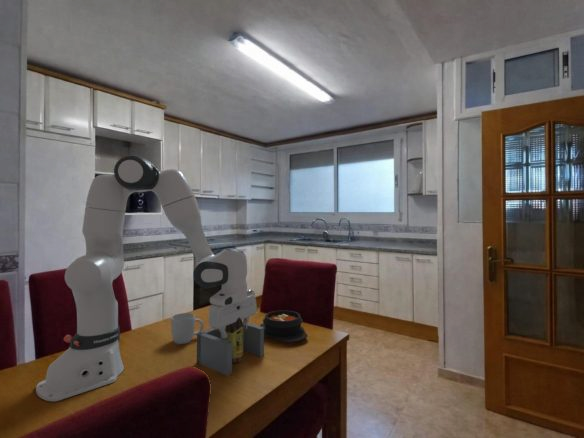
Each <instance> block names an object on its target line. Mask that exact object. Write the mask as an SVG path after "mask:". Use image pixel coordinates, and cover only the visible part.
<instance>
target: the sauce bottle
mask: <svg viewBox="0 0 584 438" xmlns="http://www.w3.org/2000/svg"><path fill="white" fill-rule="evenodd" d="M237 309H238V310H239V309H240V306H237ZM242 321H243V319H242V320H241V319H240V317H239V318H238V319H237V321H236V322H234V323H232V324H229V325H227V326H226V332H227V333H228V337H227V338H225V340H227V341H229V342H232V364H235V363H236V364H237V363H240V362H241V361H243V358H244V357H243V356H244V351H243V323H242Z"/></svg>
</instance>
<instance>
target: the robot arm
mask: <svg viewBox="0 0 584 438" xmlns="http://www.w3.org/2000/svg"><path fill="white" fill-rule="evenodd" d="M149 192H152V193H154V194H155V195H156V197H157V198H158V201H159V202H160V203H159V204H160V205H161V208H162V210H163V212H164V215H165V217H166V218H167V220H168V221H169V222H170V224H171V226H172V227H174V228H176V230H178V231H179V232H181V233H182V234H183V235H184V237H185V239H186V240H187V242H188V244H189V246H190V249H191V251H192V254H193V255H194V258H195V259H194V260H195V266H194V270H193V272H192V273H193V280H194V281H195V283H196V284H197V285H198V287H202V288H203V289H204V288H205V289H210V288H215V287H218V286H221V289H220V290H219V291H218V292H216V293H215V294H213V295H212V296H210V297H209V303H210V304H211V305H210V306H209V309H208V325H209V327H210V329H211V328H214V329H219V331H220V332H221V338H222V339H225V338H227V337H228V333H227V332H225V330H224V329H226V326H227V325H229V324H232V323H234V322H236V321H237V319H238V318H239V317H240V319H241V320H242V321H243V330H246V329H247V324H248V323H249V321H250V317H252V316H254V315H256V314H257V311H258V306H257V298H256V292H255V291H254V290H253V289H248V283H247V275H248V258H247V255H246V253H245V252H244V251H243V250H241V249H238V248H232V247H231V248H230V247H226V248H224V249H223V250H222V251H220V252H218V253H214V252H213V250H212V248H211V246H210V244H209V241H208V238H207V237H206V235H205V232H204V230H203V224H202V216H201V211H200V207H199V203H198V201H197V198H196V196H195V194H194V191H193V189H192V187H191V185H190V183H189V181H188V179H187V178H186V177H185V175H184V174H183V173H182V171H180V170H178V169H175V168H174V169H173V168H172V169H165V170H159V169H158V168H157V167H156V165H155V164H154V163H152V162H151V161H150V160H148V159H146V158H144V157H142V156H140V155H135V154H133V155H132V154H131V155H125V156H123V157H121V158H120V159H118V160H117V162H116V163H115V165H114V168H113V174H109V173H104V174H99V175H97V176H95V177H94V178H93V179H92V182H91V184H90V187H89V190H88V192H87V197H86V202H85V209H84V215H83V224H82V229H81V230H82V231H81V232H82V236H83V237H84V240H85V248H86V249H85V255H82V256H79V257H78V258H76V259H74V261H72V262H71V263H70V265H69V266H68V267H67V268H66V269H65V273H64V281H65V284H66V285H67V287H68V288H69V289H71V292H72V295H73V298H74V302H75V308H76V333H75V334H74V335H73V336H72V335H70V334H66V335H65V336H64V337H63V341H64V342H66V343H67V344H69V347H68V348H67V349H66V350H65V351H64V352H63V353H62V354H60V355H59V356H58V357H57V358H56V359H55V360H53V362H51V363H50V364H49V366H48V368H47V370H46V375H45V379H43V380H42V381H40V382H38V383H37V384H36V387H35V393H36V395H37V396H38V397H39V398H40V399H42V400H44V401H47V402H58V401H62V400H64V399H68V398H70V397H74V396H76V395H77V396H78V395H80V394H83V393H86V392H89V391H92V390H95V389H98V388H100V387H103V386H107V385H109V384H112V383H114V382H115V381H116V380H117V379H118V377H119V375H120V374H122V372H123V371H124V369H125V366H124V364H123V361H122V356H121V350H120V345H119V344H120V343H119V342H120V340H121V339H120V336H121V331H120V325H119V304H118V303H119V302H118V300H117V299H116V295H115V293H114V289H113V281H114V280H116V279H117V278H118V277H119V276H120V275H121V273H122V272H123V270H124V267H125V260H124V244H123V241H124V240H123V236H124V227H125V217H126V211H127V203H128V199H129V197H130V195H136V194H145V193H149ZM237 306H240V309H239V310H238V309H237Z"/></svg>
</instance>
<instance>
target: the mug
mask: <svg viewBox="0 0 584 438" xmlns="http://www.w3.org/2000/svg"><path fill="white" fill-rule="evenodd" d="M195 317H196V316H195V314H194V313H192V312H183V313H177V314H174V315H172V316H171V320H170V322H171V323H170V327H171V336H172V339H173V342H174V344H176V345H185V344H188V343H190V342H191V341H192V340H193V337H194V336H197V334H198V333H200V332H203V331H204V328H205V327H204V326H205V325H204V322H203V320H202V319H200V318H195ZM196 322H198V323H200V328H199V329H198V330H197V331H195V323H196Z"/></svg>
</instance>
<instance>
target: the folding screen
mask: <svg viewBox="0 0 584 438" xmlns="http://www.w3.org/2000/svg"><path fill="white" fill-rule="evenodd" d="M242 323H243V320H242ZM224 330H225V332H226V329H224ZM243 352H245V353H249V354H252V355H254V356H258V357H260V358H261V357H262V356H264V355H265V336H264V327H261V326H260V325H257V324H253V323H249V322H248V324H247V329H246V330H243ZM196 363H197V364H199V365H201V366H205V367H206V368H208V369H211V370H213V371H215V372H218V373H220V374H222V375H225V376H230V375H231V374H232V373H233V363H232V342H229V341H227V340H225V339H222V338H221V332H220V331H219V329H214V328H211V327H210V328H208V329H205V330H202V331H201V332H200V333H198V334H197V335H196Z"/></svg>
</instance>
